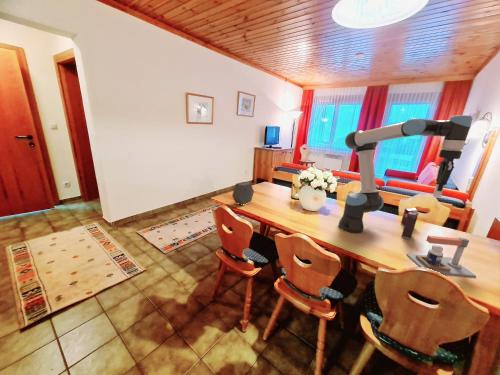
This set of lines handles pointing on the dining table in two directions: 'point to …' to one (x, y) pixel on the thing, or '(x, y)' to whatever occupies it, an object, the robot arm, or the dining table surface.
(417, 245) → the dining table surface
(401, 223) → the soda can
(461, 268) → the latch board
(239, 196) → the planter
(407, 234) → the supplement box
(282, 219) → the dining table surface
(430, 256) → the pill bottle
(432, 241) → the bar
